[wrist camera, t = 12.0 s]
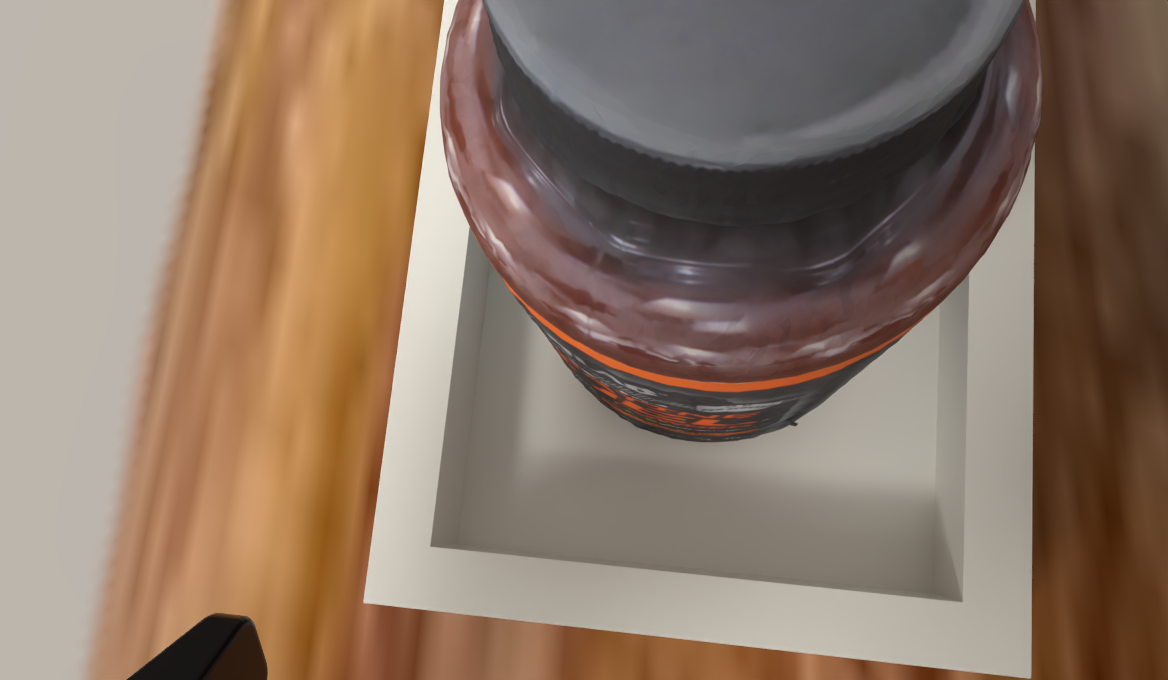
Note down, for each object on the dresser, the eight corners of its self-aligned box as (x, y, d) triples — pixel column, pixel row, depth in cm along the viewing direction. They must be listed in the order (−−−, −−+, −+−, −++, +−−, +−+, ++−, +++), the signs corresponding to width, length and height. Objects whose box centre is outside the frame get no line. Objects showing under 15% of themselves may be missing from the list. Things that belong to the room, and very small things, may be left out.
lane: (981, 656, 16) (1176, 745, 10) (406, 591, 17) (241, 632, 11) (996, -297, 20) (1146, -695, 13) (518, -290, 21) (443, -650, 15)
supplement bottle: (506, 388, 17) (181, 151, 6) (611, 105, 18) (489, -536, 7) (816, 496, 16) (1076, 439, 5) (913, 192, 17) (1307, -402, 6)
